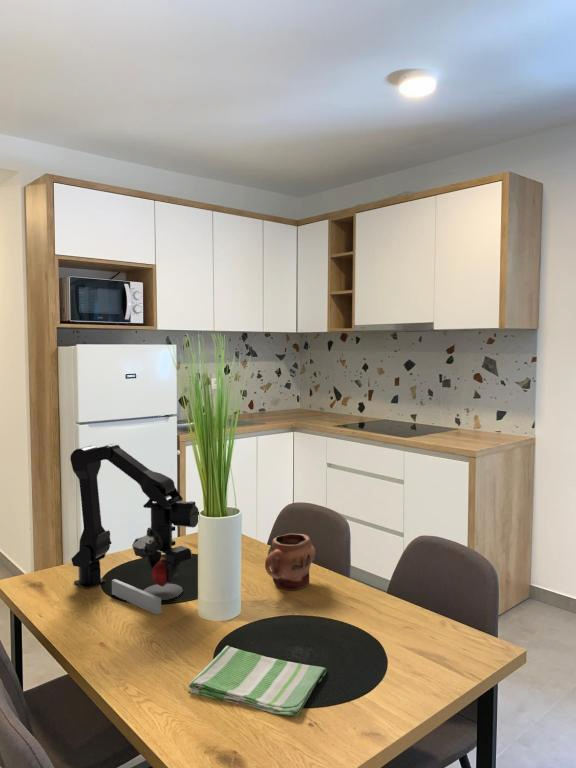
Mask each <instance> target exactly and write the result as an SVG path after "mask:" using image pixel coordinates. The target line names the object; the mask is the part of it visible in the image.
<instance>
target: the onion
mask: <svg viewBox="0 0 576 768" xmlns="http://www.w3.org/2000/svg"><path fill="white" fill-rule="evenodd" d="M165 559H166V558H164V557H162V556H161V559H160V561H159V562H158V563H156V564H155V566H154V567H153V569H152V571H151V574H150V575H151V579H152V580H153V582H154V583H155V585H156V584H158V585H160V586H164V585H165V584H167V583H169V582H167V576H166V565H165V564H164V563H163V562H162V560H165Z"/></svg>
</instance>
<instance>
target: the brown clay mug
mask: <svg viewBox="0 0 576 768" xmlns="http://www.w3.org/2000/svg"><path fill="white" fill-rule="evenodd" d="M315 556H316V549H315V547H314V545H313V544H312V541H311V538H310V536H309V535H306V534H305V533H304V534H303V533H287V534H283V535H278V536H276V537H274V538H273V539H272V542H271V545H270V546H269V550H268V552H267V557H266V558H265V562H264V567H265V571H266V573H267V575H269V576H270V577H272V582H273V584H274V585H275V586H276V587H277V588H280V589H284V590H290V591H292V590H293V591H294V590H298V589H302V588H304V587H306V586H307V585H308V584H309V583H310V567H311V565H312V563H313V561H314V560H315V558H316V557H315Z"/></svg>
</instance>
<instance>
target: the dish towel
mask: <svg viewBox="0 0 576 768" xmlns="http://www.w3.org/2000/svg"><path fill="white" fill-rule="evenodd" d="M326 673H327V667H323V666H317V665H310V664H303V663H299V662H293V661H287V660H283V659H279V658H273V657H268V656H265V655H262V654H257V653H254V652H250V651H245V650H242V649H240V648H235V647H232V646H229V645H226V646H225V647H224V648H223V649H222V650H221V652H219V653H218V654H217V655H216V656H215V658H213V660H211V661H210V662H209V664H207V665H206V666H205V667H204V668H203V669H202V670H201V671H200V673H198V674H197V675H196V676H195V677H194V678H193V679H192V680H191V681H190V682H189V683H188V688H189V690H188V692H187V693H191V694H195V695H199V696H203V697H207V698H212V699H215V700H220V701H223V702H230V703H233V704H236V705H239V706H243V707H250V708H253V709H258V710H260V711H264V712H268V713H271V714H276V715H284V716H292V717H298V715H299V713H300V712H301V710H303V708H304V706H305V704H306V703H307V701H308V699H309V697H310V696H311V694H312V692H313V691H314V689H315V687H316V686H317V683H321V681H322V680H323V677H324V676H325V675H326ZM320 677H321V678H320Z"/></svg>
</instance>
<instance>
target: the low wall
mask: <svg viewBox="0 0 576 768" xmlns="http://www.w3.org/2000/svg"><path fill="white" fill-rule="evenodd" d="M143 590H144V589H140V588H137V587H135V586H134V585H131V584H128V583H125V582H123V581H121V580H119V579H116V578H114V579H112V580H111V595H113V596H114V595H115V597H117V598H119V599H121V600H124V601H125V600H126V602H128V603H131V604H132V605H134V606H137V607H139V608H141V609H143V610H145V609H146V611H148V612H150V613H152V614H154V615H157V616H158V615H160V614H162V601H161V598H160V597H157V596H155V595H152V594H150V593H148V592H145V591H143Z"/></svg>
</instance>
